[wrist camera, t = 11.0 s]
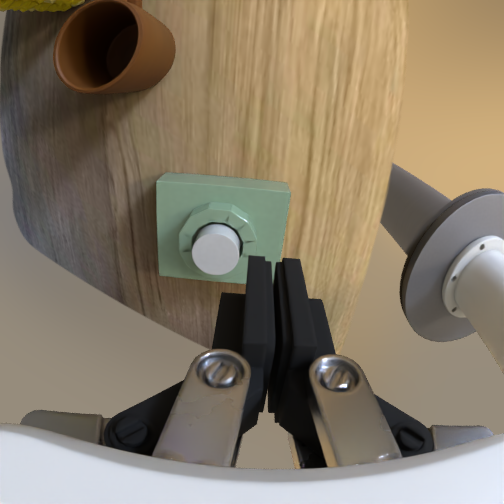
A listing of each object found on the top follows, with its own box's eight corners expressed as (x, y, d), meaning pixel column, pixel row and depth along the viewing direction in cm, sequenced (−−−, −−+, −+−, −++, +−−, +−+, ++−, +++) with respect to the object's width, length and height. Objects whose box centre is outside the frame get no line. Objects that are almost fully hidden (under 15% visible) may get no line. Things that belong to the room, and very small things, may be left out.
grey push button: (242, 225, 27) (241, 235, 25) (238, 265, 29) (237, 277, 27) (195, 221, 27) (191, 231, 25) (195, 261, 29) (191, 273, 27)
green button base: (287, 182, 30) (293, 199, 26) (274, 270, 35) (276, 297, 30) (165, 172, 29) (149, 187, 25) (166, 260, 34) (154, 285, 30)
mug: (122, -18, 19) (78, -47, 11) (196, -18, 20) (173, -58, 12) (98, 90, 25) (44, 95, 17) (169, 95, 26) (133, 98, 18)
